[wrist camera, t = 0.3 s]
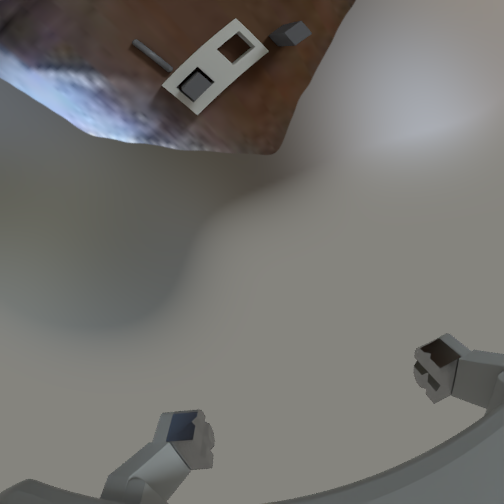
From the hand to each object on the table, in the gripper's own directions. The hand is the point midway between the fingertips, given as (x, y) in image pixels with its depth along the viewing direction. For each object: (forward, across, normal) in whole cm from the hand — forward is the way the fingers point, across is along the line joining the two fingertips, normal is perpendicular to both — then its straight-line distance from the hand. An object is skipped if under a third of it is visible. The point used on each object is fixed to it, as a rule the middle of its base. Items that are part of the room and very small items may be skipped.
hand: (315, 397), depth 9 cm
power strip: (+41, +2, -36) cm, 55 cm away
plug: (+43, -14, -36) cm, 58 cm away
